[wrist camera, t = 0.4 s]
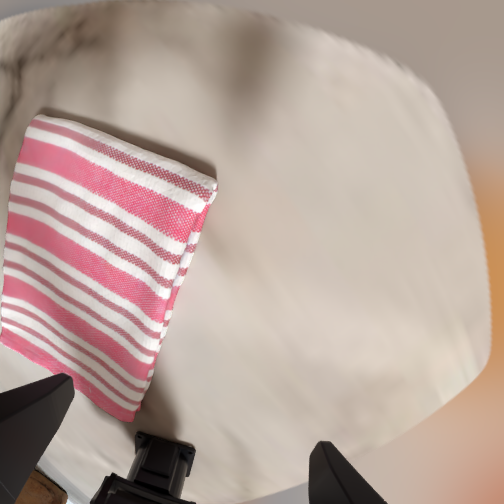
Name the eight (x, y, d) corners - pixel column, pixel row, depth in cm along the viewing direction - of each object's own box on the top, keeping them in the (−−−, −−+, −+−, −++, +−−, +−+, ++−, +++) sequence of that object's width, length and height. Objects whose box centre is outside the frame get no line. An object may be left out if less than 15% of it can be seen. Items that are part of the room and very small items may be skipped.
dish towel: (14, 332, 23) (-4, 346, 20) (47, 112, 18) (20, 107, 14) (143, 410, 24) (131, 434, 21) (229, 176, 19) (221, 176, 15)
